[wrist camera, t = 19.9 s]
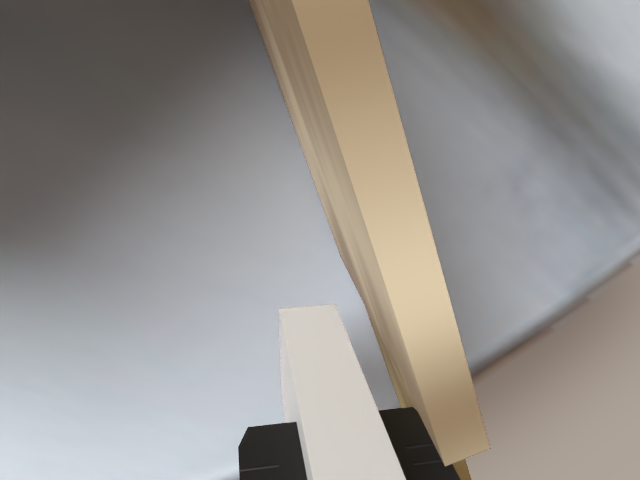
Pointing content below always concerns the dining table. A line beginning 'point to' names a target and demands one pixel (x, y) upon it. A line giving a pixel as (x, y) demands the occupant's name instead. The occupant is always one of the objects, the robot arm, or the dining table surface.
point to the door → (375, 206)
